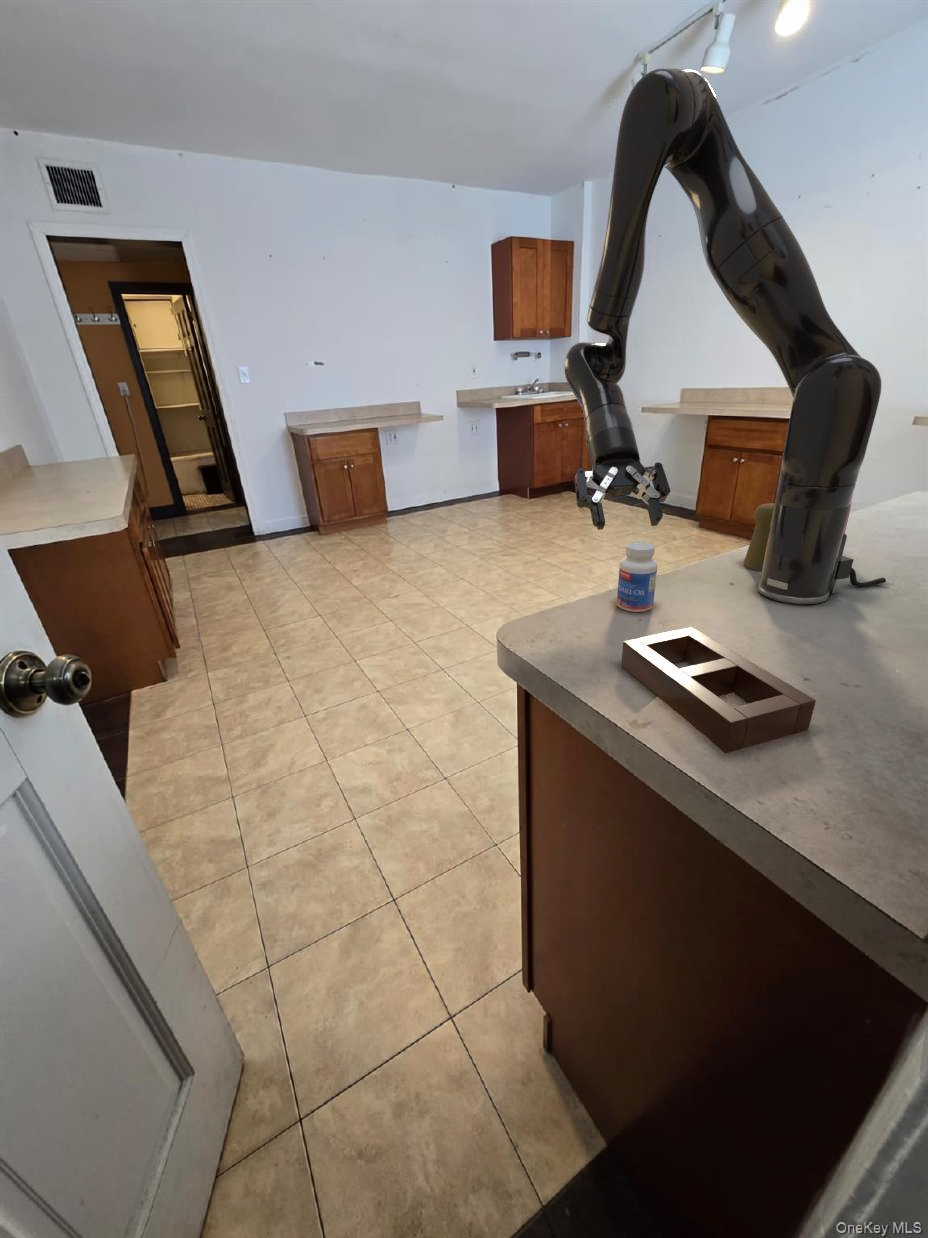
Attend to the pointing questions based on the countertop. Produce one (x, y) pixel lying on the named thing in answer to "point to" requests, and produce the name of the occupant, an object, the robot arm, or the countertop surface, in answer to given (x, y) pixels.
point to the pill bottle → (637, 578)
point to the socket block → (717, 689)
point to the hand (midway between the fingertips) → (629, 525)
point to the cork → (759, 537)
